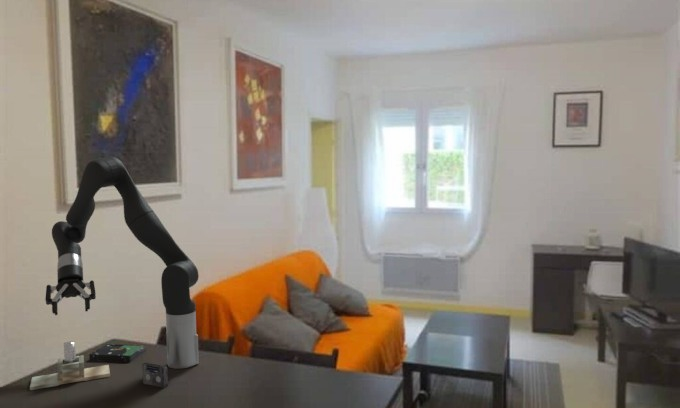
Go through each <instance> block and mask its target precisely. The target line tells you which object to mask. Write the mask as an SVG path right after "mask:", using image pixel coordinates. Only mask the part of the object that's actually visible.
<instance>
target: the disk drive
mask: <svg viewBox="0 0 680 408" xmlns="http://www.w3.org/2000/svg"><path fill="white" fill-rule="evenodd" d="M145 346H146V345H139V344H115V343H114V344H112V343H109V344H104V345H103V346H101V347H99V348H97V349H96V351H92V352H91V353H89V355H88V356H89V358H88V359H89V361H91V362H93V361H95V362H97V361H98V362H119V363H131V362H133V361H134V360H136V359H138V358H139V357H140V356H141V355H143V354H145V353H146V351H147V350H146V347H145Z"/></svg>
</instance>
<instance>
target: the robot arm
mask: <svg viewBox="0 0 680 408" xmlns="http://www.w3.org/2000/svg"><path fill="white" fill-rule="evenodd" d="M110 186H114V187H115V189H116V191H118V193H119V195H120V197H121V198H122V199H121V200H122V203H123V217H124V222H125V224H126V226H127V227H128V229H129V230H130V232H131V233H132V234H133V236H134V237H135V239H137V240H138V241H139V242H140V243H141V244H142V245H143V246H144V247H146V248H147V249H148V250H150V251H151V252H153V253H155V254H156V255H157V256H158V257H159V258H160V260H161V261H162V262H163V263H164V264H165V266H166V267H165V268H164V269H163V271H162V274H161V279H160V280H161V283H160V284H161V295H162V303H163V306H164V308H165V325H166V327H165V328H166V330H165V331H166V361H167V368H171V369H176V370H177V369H186V368H190V367H193V366H195V365H199V363H200V362H199V335H198V334H197V315H196V314H197V313H196V309H197V307H196V302H195V300H192V299H191V292H190V288H192V287H194V286H195V285H196V283H198V280H199V271H198V268H197V266H196V265H195V263H194V262H193V261H192V260H191V258H189V256H188V255H186V253H185V252H184V251H183V250H182V249H181V247H180V246H179V245H178V244H177V243H176V242H175V240H174V238H173V237H172V235H171V234H170V233H169V231H168V230H167V228H166V227H165V226H164V224H163V223H162V221H161V220H160V218H159V217H158V216H157V213H155V211H154V210H153V208H152V207H151V206H150V205H149V203H148V202H147V200H146V199H145V197H144V196H143V194H142V193H141V191H140V190H139V188H138V187H137V185H136V184H135V182H134V180H133V178H132V177H131V175H130V174H129V172H128V170H127V168H126V166H125V165H124V164H123V162H122V161H121V160H120V159H119V158H118V157H115V156H107V157H102V158H96V159H93V160H91V161H88V162H87V164H86V166H85V167H84V171H83V173H82V176H81V180H80V184H79V187H78V190H77V192H76V197H75V199H74V201H73V203H72V205H71V206H70V208H69V209H68V211H67V213H66V216H65V220H66V221H64V220H63V221H62V220H61V221H58V222H56V223H54V224H53V226H52V228H51V237H52V240H53V242H54V244H55V247H56V249H57V250H56V251H57V256H58V257H57V265H56V266H57V269H56V272H57V284H56V285H54V286H52V285H51V284H47V285H46V287H45V298H44V299H45V304H46V305H47V306H48V305H51V313H52V314H53V315H55V316H58V310H59V309H58V304H59V303H60V302H61V301H62V300H63V299H64V298H65V299H69V298H77V297H79V298H81V299H83V300H84V311H85V312H88V311H89V310H90V309H91V301H92V300H96V294H97V293H96V288H95V287H96V286H95V281H94V280H92V279H91V280H90V281H89V282H84V267H83V260H82V248H81V245H80V244H79V243H82V242H83V241H84V240H85V239H86V238H85V237H86V234H87V231H86V229H87V226H88V222H89V221H90V219H91V217H92V216H93V214H94V211H95V209H96V201H95V199H94V198H95V195H96V194H97V193H98V192H99V191H100V190H101V188H107V187H110ZM85 288H86V289H88V290H90V294H88V293H87V292H86V290H85ZM55 291H56V292H57V293H56V294H55V295H54V297H53V298H52V294H53V293H54V292H55Z"/></svg>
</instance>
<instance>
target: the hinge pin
mask: <svg viewBox="0 0 680 408" xmlns="http://www.w3.org/2000/svg"><path fill="white" fill-rule="evenodd" d="M76 353H77V352H76V342H75V341H74V340H71V341H70V340H69V341H65V342H63V355H64V357H63V358H65V364H68V363H74V362H76V356H77V355H76Z"/></svg>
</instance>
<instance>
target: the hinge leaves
mask: <svg viewBox="0 0 680 408" xmlns="http://www.w3.org/2000/svg"><path fill="white" fill-rule="evenodd" d="M84 357H85V356H84V354H82V355H76V362H74V363H68V364H65V358H64V357H62V358H58V359H57V364H56V369H57V371H56V372H55V373H50V374H43V375H37V376H32V377H31V381H30V385H29V390H30V391H34V390H41V389H45V388H52V387H57V386H60V385H65V384H70V383H78V382H83V381H84V382H86V381H91V380H92V381H93V380H98V379H104V378H109V377H111V372H110V365H109V364H104V365H97V366H92V367H85V361H84V360H85V359H84Z"/></svg>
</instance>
